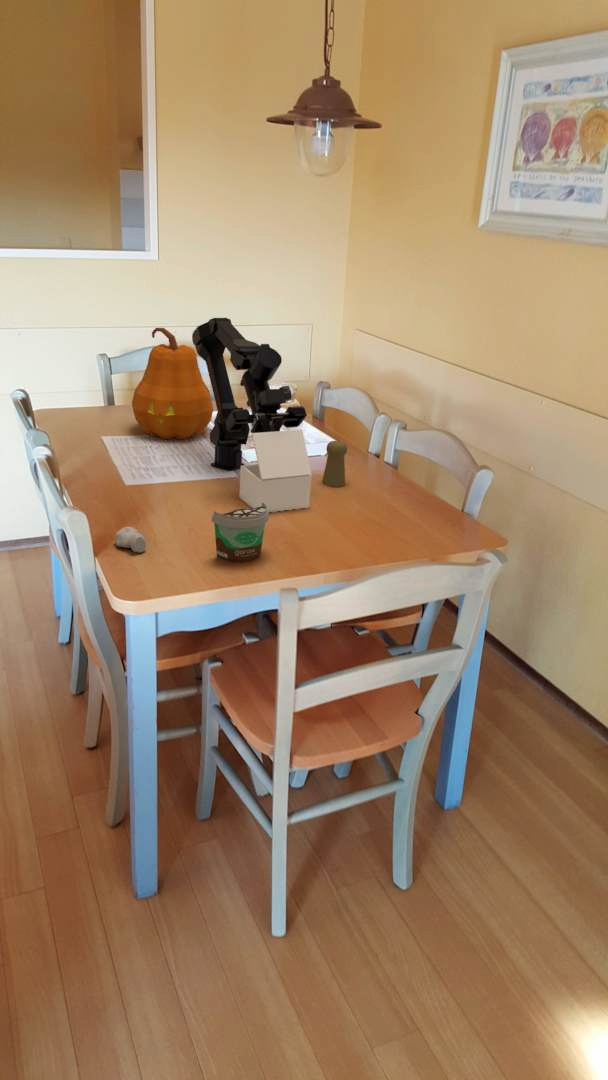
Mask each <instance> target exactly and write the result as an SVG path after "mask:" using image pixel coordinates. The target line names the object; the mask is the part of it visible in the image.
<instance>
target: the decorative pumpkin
mask: <svg viewBox="0 0 608 1080" xmlns="http://www.w3.org/2000/svg"><path fill="white" fill-rule="evenodd" d="M157 332H161V333H162V334H163V335H164V336H165V337H166V338H167V340H168V343H169V344H168V345H166V344H164V343H163V344H162V343H160V344H158V345H155V346H153V347H152V349H151V350H150V352H149V354H148V360H147V364H146V368H145V370H144V373H143V376H142V379H141V380H140V381H139V383H138V384H137V386H136V387H135V388H134V393H133V397H132V400H131V405H132V409H133V410H132V411H133V416H134V417H135V421H136V422H137V424H138V425H139V426H140V428H141V430H143V431H144V432H146V433H147V434H149V435H150V436H153V437H156V436H157V437H160V439H165V440H169V439H172V438H177V439H179V440H183V439H187V438H189V437H196V436H198V435H199V434H200V433H203V431H205V429H206V428H207V427H208V425H209V424H210V423H211V421H212V416H213V412H214V407H213V405H214V404H213V401H212V395H211V392H210V390H209V387H208V386H207V385H206V383H205V381H204V379H203V377H202V376H203V375H202V373H201V370H200V367H199V362H198V358H197V357H198V356H197V354H196V353H197V352H195V351H196V350H194V348H192V347H191V346H188V345H185V344H180V345H178V343H177V339H176V336H175V335H174V334H172V333H171V332H170V331H169V330H168V329H166V328H165V327H155V328H154V329H153V331H151V337H152V338H153V339H154V338H155V336H156V335H155V334H156V333H157Z"/></svg>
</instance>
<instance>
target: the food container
mask: <svg viewBox="0 0 608 1080" xmlns="http://www.w3.org/2000/svg"><path fill="white" fill-rule="evenodd" d="M269 514H270V513H268V509H267V506H266V505H265V504H264V503H263V502H262V507H257V508H238V509H235V510H233V511H230V512H226V513H225V512H224V513H219V512H216V510H214V511H213V513H212V515H211V520H210V521H211V522H212V523H214V533H215V535H214V536H215V537H214V538H215V549H216V550H215V551H216V558H218V559H219V560H222V561H224V562H228V563H235V564H236V563H237V564H243V563H245V562H246V563H250V562H254V561H256V560H258V559H259V558H260V557H261V553H262V545H263V540H264V534H265V526H266V523H267V522H268V521H269V519H270V515H269ZM246 563H245V564H246Z"/></svg>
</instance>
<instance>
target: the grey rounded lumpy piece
mask: <svg viewBox="0 0 608 1080" xmlns="http://www.w3.org/2000/svg"><path fill="white" fill-rule="evenodd" d="M115 542H116V545H117V546H118V547H122V548H127V549H129V548H131V550H132V551H133V552H134V553H136V554H141V553H143V552H144V551H145V550H146V545H147V543H146V542H147V541H146V538H145V536H144V535H143V534H141V532H140V533H139V531H138V530H137V529H136V528H135V527H133V526H124V527H121V529H119V530H118V531H117V532H116V534H115Z"/></svg>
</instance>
